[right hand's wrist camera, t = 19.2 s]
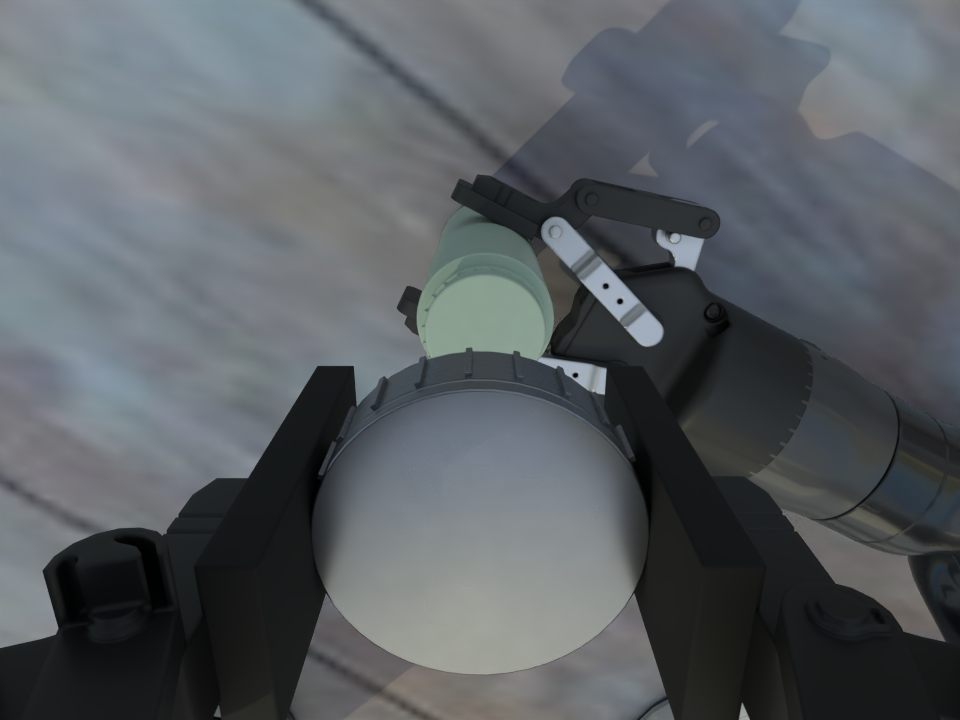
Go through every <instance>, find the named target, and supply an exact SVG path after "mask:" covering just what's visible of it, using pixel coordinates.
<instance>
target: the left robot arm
mask: <svg viewBox="0 0 960 720" xmlns="http://www.w3.org/2000/svg"><path fill="white" fill-rule="evenodd" d="M451 198H452V199H453V200H455V201H457V202H458V203H460V204H462V205H464V206H466V207H468V208H470V209H472V210H473V211H475V212H477V213H479V214H481V215H483V216H485V217H487V218H489V219H491V220H493V221H495V222H497V223H498V224H500V225H502V226H504V227H506V228H509V229H511V230H512V231H514V232H516V233H518V234H520V235H522V236H523V237H525V238H527V239H529V240H532V238H533V236H536V237H538V238H539V239H541V240H543V241H544V242H545V243H546V244H547V245H548V246H549V247H550V248H551V249H552V250H553V251H554V252H555V253H556V254H557V256H558V257H559V258H560V259H561V260H562V261H563V262H564V263H565V264H566V265H567V266H568V267H569V268H570V269H571V270H572V272H573V273H574V274H575V275H576V276H577V278H578V279H579V280H580V281H581V282H582V284H581V286H580V287H579V289H578V291H577V293H576V294H575V297H574V301H573V305H572V308H571V311H570V313H569V314H568V315H567V316H566V317H565V318H564V319H563V320H562V321H561V322H560V323H559V324H558V325H557V327H556V329H555V331H554V332H553V334H552V336H551V339H550V342H549V344H548V346H547V348H550V349H547V348H546V350H545V351H544V353H543V354H542V356H541V357H540V358H539V360H538V362H541V363H543V364H546V365H548V366H551V367H553V368H555V369H556V368H557V366H560V367H562V368H563V369H564V372H565V375H567V376H569V377H571V378H572V379H573V380H575V381H576V382H577V383H579V384H580V385H581V386H583V387H584V388H585V389H587V390H588V391H589V392H590V393H591V394H592V393H593V392H594V391H595V392H596V393H597V394H598V395H599V397H600V400H601V402H602V405H603V407H604V397H605V383H606V369H607V366H643V367H644V369H645V371H646V372H647V374H648V375H649V377H650V379H651V380H652V382H653V383H654V385H655V387H656V388H657V390H658V391H659V393H660V395H661V396H662V398H663V400H664V401H665V403H666V404H667V406H668V408H669V409H670V411H671V412H672V414H673V416H674V417H675V419H676V421H677V422H678V424H679V425H680V427H681V429H682V430H683V432H684V433H685V435H686V437H687V438H688V440H689V441H690V443H691V445H692V446H693V448H694V450H695V451H696V453H697V454H698V456H699V458H700V459H701V461H702V462H703V464H704V466H705V467H706V469H707V470H708V472H709V474H710V475H711V476H744V477H746V478H747V479H749V480H750V481H752V482H753V483H755V484H756V485H758V486H759V487H760V488H762V489H763V490H765V491H766V492H768V493H769V495H770V496H771V497H772V499H773V500H774V501H775V503H776V504H777V505H778V507H779V508H781V509H785V510H788V511H792V512H795V513H797V514H800V515H802V516H805V517H807V518H809V519H811V520H814V521H816V522H818V523H820V524H822V525H824V526H826V527H828V528H830V529H832V530H834V531H836V532H838V533H841V534H843V535H845V536H847V537H849V538H851V539H853V540H855V541H857V542H859V543H861V544H863V545H866V546H868V547H871V548H874V549H877V550H880V551H883V552H886V553H890V554H895V555H907V556H908V562H909V566H910V569H911V572H912V576H913V578H914V581H915V583H916V585H917V587H918V590H919V592H920V594H921V596H922V598H923V600H924V601H925V603H926V605H927V607H928V609H929V611H930V613H931V615H932V617H933V618H934V620H935V622H936V624H937V626H938V628H939V630H940V632H941V634H942V636H943V638H944V640H945V642H947V643H952V644H956V645H960V426H957V425H951V424H947V423H944V422H941V421H940V420H938V419H936V418H934V417H933V416H931V415H929V414H928V413H925V412H923V411H921V410H919V409H917V408H916V407H914V406H912V405H910V404H908V403H906V402H904V401H902V400H900V399H898V398H897V397H895V396H893V395H891V394H889V393H887V392H885V391H883V390H882V389H880V388H878V387H877V386H875V385H873V384H872V383H870V382H869V381H868V380H866V379H865V378H863V377H862V376H861V375H860V374H858V373H857V372H856V371H854V370H853V369H852V368H850V367H849V366H847V365H846V364H844V363H842V362H841V361H839V360H837V359H835V358H833V357H831V356H830V355H828V354H826V353H824V352H822V351H821V350H820V349H819V348H818V347H817V346H816V345H814V344H812V343H810V342H808V341H805V340H802V339H798V338H796V337H794V336H792V335H790V334H788V333H786V332H784V331H783V330H781V329H779V328H777V327H775V326H773V325H771V324H769V323H767V322H766V321H764V320H762V319H760V318H758V317H756V316H754V315H752V314H750V313H749V312H747V311H745V310H743V309H741V308H739V307H737V306H735V305H734V304H732V303H730V302H728V301H726V300H724V299H722V298H720V297H718V296H717V295H715V294H713V293H711V292H710V291H708V290H707V288H706V287H705V286H704V284H703V282H702V280H701V278H700V277H699V276H698V274H696V273H695V272H694V271H695V268H696V265H697V262H698V259H699V256H700V253H701V250H702V247H703V244H704V240H705V239H707V238H710V237H712V236H713V235H715V234H716V232H717V231H718V229H719V227H720V218H719V216H718V214H717V213H716V212H715V211H713V210H711V209H709V208H706V207H704V206H702V205H699V204H697V203H695V202H691V201H687V200H682V199H677V198H673V197H668V196H664V195H659V194H655V193H650V192H646V191H641V190H636V189H632V188H627V187H623V186H618V185H614V184H609V183H605V182H600V181H595V180H591V179H586V178H582V179H579V180H577V181H575V182H574V183H573V184H572V186H571V188H570V189H569V190H568V191H567V192H566V193H565V194H564V195H563V196H562V197H560V198H559V199H558V200H557V201H555V202H552V203H541V202H538V201H536V200H535V199H533V198H531V197H529V196H527V195H525V194H523V193H521V192H520V191H518V190H516V189H514V188H512V187H510V186H508V185H506V184H504V183H502V182H501V181H499V180H497V179H495V178H493V177H491V176H486V175H477V177H476V179H475V181H474V183H473V185H472V184H470V183H468V182H466V181H464V180H462V179H459V181H458V183H457V185H456V187H455V189H454V191H453V193H452V196H451ZM592 215H594V216H598V217H603V218H608V219H612V220H617V221H621V222H626V223H631V224H635V225H640V226H645V227H649V228H652V231H651V235H652V238H653V240H654V241H655V242H656V243H657V244H658V245H660V246H661V247H663V248H665V249H667V250H668V252H669V256H670V259H669V262H665V263H659V264H652V265H645V266H639V267H632V268H625V269H619V270H613V269H612V268H611V267H610V266H609V265H608V264H607V263H606V262H605V261H604V259H603V258H602V257H601V256H600V255H599V254H598V253H597V252H596V251H595V250H594V249H593V248H592V246H591V245H590V244H589V243H588V242H587V241H586V240H585V239H584V238H583V237H582V236H581V235H580V234H579V233H578V232H577V231H576V229H577V228H578V227H580V226H581V225H582V224H583V223H584V222H585V221H586V220H587V219H589V218H590V217H591V216H592ZM421 293H422V291H421V290H419V289H417V288H414V287H411V286H407V287H406V289H405V291H404V293H403V295H402V297H401V299H400V302H399V304H398V306H397V309H398V310H399V311H400V312H401V313H403V314H404V315H406V316H407V318H406V321H405V325H406V326H407V327H408V328H409V329H410V330H411V331H412V332H413V333H415V334H417V335H419V333H418V328H417V308H418V303H419V299H420V296H421ZM212 720H221V714H220V709H219V705H218V707H217V710H216V712H215V714H214V717H213V719H212ZM286 720H294V719H293V718H292V716H291V714H290V713H289V712H288V715H287V718H286Z"/></svg>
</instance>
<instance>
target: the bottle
mask: <svg viewBox="0 0 960 720" xmlns="http://www.w3.org/2000/svg"><path fill="white" fill-rule="evenodd" d="M553 326H554V311H553V305H552V300H551V297H550V295H549V292H548V289H547V286H546V283H545V281H544V278H543V275H542V272H541V269H540V267H539V264H538V261H537V258H536V256H535V253H534V250H533V247H532V244H531V242H530V240H529V239H527V238H525V237H523V236H522V235H520V234H518V233H516V232H514V231H512V230H511V229H509V228H506V227H504V226H502V225H500V224H498V223H497V222H495V221H493V220H491V219H489V218H487V217H485V216H483V215H481V214H479V213H477V212H475V211H473V210H472V209H470V208H468V207H466V206H464V207H462V208H460V209H459V210H458V211H456V212H455V213H454V214H453V215H452V216H451V217H450V219H449V220H448V222H447V223H446V225H445V227H444V230H443V232H442V235H441V238H440V241H439V244H438V247H437V250H436V253H435V256H434V259H433V261H432V264H431V267H430V270H429V273H428V276H427V279H426V282H425V285H424V288H423V290H422V293H421V296H420V299H419V303H418V308H417V328H418V333H419V337H420V340H421V342H422V345H423V347H424V349H425V350H426V353H427V355H428V359H430V358H434V357H438V356H443V355H447V354H452V353H461V352H466V348H470V347H472V348H473V351H491V352H500V353H507V354H513V351H519V352H520V356H522V357H526V358H529V359H533V360H536V361H538V360H539V358H540V357H541V356H542V354H543V353H544V351H545V350H546V348H547V346H548V344H549V342H550V339H551V336H552V332H553Z"/></svg>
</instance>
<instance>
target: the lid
mask: <svg viewBox="0 0 960 720" xmlns="http://www.w3.org/2000/svg"><path fill="white" fill-rule="evenodd" d="M336 440H337V443H336V442H333V441H332V443H331V445H330V447H329V450H328V452H327V454H326V456H325V459H324V461H323V463H322V466H321V468H320V470H319V472H318V475H317V479H319V480H321V481H320V484H319V486H318V489H317V491H316V494H315V498H314V502H313V506H312V511H311V519H310V533H311V543H312V552H313V560H314V564H315V568H316V571H317V574H318V576H319V578H320V581H321V583H322V586H323V588H324V590H325V591H326V593H327V595H328V596H329V598H330V600H331V601H332V603H333V605H334V606H335V607H336V608H337V610H338V611H339V612H340V613H341V615H342V616H343V617H344V618H345V619H346V620H347V621H348V622H349V623H350V624H351V625H352V626H353V627H354V628H355V629H356V630H357V631H358V632H359V633H360V634H362V635H363V636H364V637H366V638H367V639H368V640H370V641H371V642H372V643H374V644H375V645H377V646H378V647H380V648H382V649H384V650H385V651H387V652H389V653H390V654H392V655H395V656H397V657H399V658H401V659H403V660H406V661H408V662H411V663H414V664H417V665H420V666H423V667H426V668H429V669H434V670H439V671H443V672H448V673H457V674H466V675H493V674H504V673H511V672H517V671H522V670H527V669H531V668H534V667H537V666H541V665H544V664H547V663H550V662H552V661H554V660H557V659H559V658H561V657H564V656H566V655H568V654H570V653H571V652H573V651H575V650H577V649H578V648H580V647H582V646H584V645H585V644H586V643H588V642H589V641H591V640H592V639H593V638H595V637H596V636H597V635H599V634H600V633H601V632H602V631H603V630H604V629H605V628H606V627H607V626H609V625H610V624H611V623H612V622H613V621H614V620H615V618H616V617H617V616H618V615H619V614H620V612H621V611H622V610H623V609H624V608H625V606H626V605H627V603H628V602H629V600H630V598H631V597H632V595H633V594H634V592H635V590H636V588H637V586H638V583H639V581H640V579H641V577H642V575H643V571H644V568H645V564H646V561H647V556H648V547H649V537H650V516H649V511H648V505H647V500H646V496H645V493H644V491H643V488H642V486H641V483H640V480H639V478H638V475H637V473H636V471H635V468H634V466H633V464H632V462H634V461H636V458H635V456H634V453H633V451H632V449H631V447H630V444H629V442H628V440H627V437H626V435H625V433H624V431H623V428H622V426H621V425H618V426H615V424H614V422H613V420H612V418H611V417H610V416H609V414H608V413H607V412H606V410H605V409H604V407H603V405H602V402H601V400H600V397H599V395H598V394H597V393H596V392H595V391H594V392H593V393H592V394H591V393H590V392H589V391H588V390H587V389H585V388H584V387H583V386H581V385H580V384H579V383H577V382H576V381H575V380H573V379H572V378H571V377H569V376H567V375H565V372H564V369H563V368H562V367H560V366H557V368H556V369H555V368H553V367H551V366H548V365H546V364H543V363H541V362H538V361H536V360H533V359H529V358H526V357H522V356H520V352H519V351H513V354H507V353H500V352H491V351H473V348H472V347H470V348H466V352H461V353H452V354H447V355H443V356H438V357H434V358H430V359H427V358H426V356H424V357H421V358H420V359H419V363H417V364H414V365H412V366H409V367H408V368H406V369H404V370H402V371H400V372H398V373H396V374H394V375H393V376H391V377H390V378H388V379H387V378H386V377H385V376H383V377H382V378H381V379H380V380H379V382H378V385H377V387H376V388H375V389H374V390H373V391H372V392H371V393H370V394H369V395H368V396H367V397H365V398H364V399H363V400H362V402H361V403H360V404H359V405H358V407H357V408H355V407H354V406H352V407H351V408H350V409H349V411H348V413H347V416H346V418H345V420H344V423H343V425H342V427H341V430H340V432H339V434H338V437H337V439H336Z"/></svg>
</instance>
